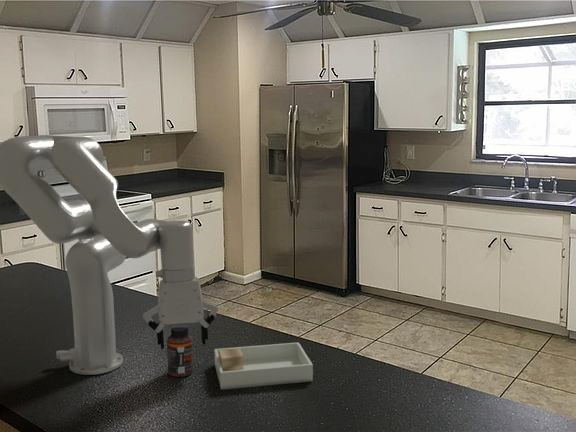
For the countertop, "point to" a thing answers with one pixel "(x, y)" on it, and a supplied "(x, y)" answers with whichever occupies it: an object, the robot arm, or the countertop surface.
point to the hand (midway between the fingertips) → (183, 344)
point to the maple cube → (231, 359)
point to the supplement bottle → (180, 352)
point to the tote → (267, 366)
